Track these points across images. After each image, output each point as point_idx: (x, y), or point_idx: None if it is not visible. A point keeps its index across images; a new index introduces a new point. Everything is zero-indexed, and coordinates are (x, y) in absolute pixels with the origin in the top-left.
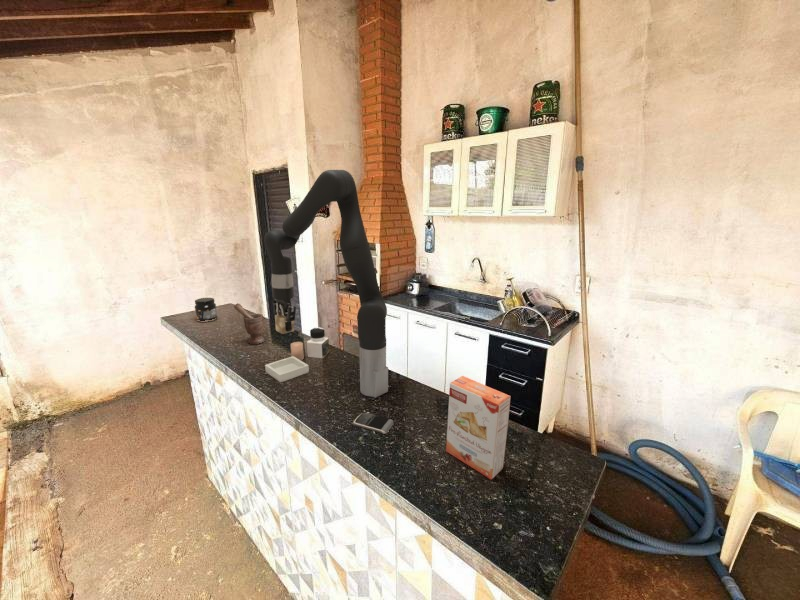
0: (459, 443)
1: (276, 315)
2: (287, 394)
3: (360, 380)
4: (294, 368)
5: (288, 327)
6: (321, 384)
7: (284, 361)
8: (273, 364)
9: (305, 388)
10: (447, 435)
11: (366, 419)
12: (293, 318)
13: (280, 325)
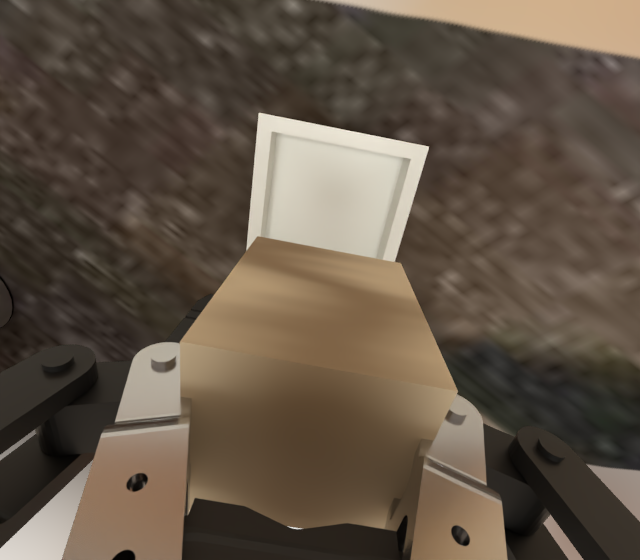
0: None
1: (426, 404)
2: (141, 55)
3: None
4: (320, 241)
5: (190, 316)
6: (123, 215)
7: (385, 242)
8: (402, 185)
9: (136, 150)
10: None
11: None
12: (39, 444)
13: (265, 279)
